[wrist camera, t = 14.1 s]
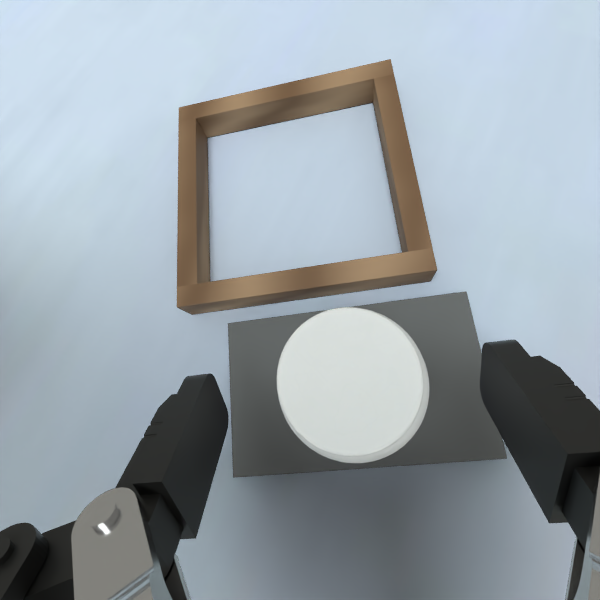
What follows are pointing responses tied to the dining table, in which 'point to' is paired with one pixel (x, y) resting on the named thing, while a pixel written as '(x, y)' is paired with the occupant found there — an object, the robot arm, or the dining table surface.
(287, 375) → the pill bottle
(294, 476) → the dining table surface
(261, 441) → the charcoal mat
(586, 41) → the dining table surface
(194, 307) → the walnut frame
